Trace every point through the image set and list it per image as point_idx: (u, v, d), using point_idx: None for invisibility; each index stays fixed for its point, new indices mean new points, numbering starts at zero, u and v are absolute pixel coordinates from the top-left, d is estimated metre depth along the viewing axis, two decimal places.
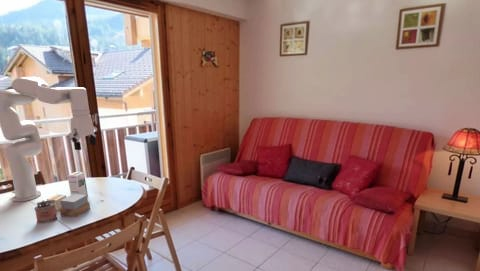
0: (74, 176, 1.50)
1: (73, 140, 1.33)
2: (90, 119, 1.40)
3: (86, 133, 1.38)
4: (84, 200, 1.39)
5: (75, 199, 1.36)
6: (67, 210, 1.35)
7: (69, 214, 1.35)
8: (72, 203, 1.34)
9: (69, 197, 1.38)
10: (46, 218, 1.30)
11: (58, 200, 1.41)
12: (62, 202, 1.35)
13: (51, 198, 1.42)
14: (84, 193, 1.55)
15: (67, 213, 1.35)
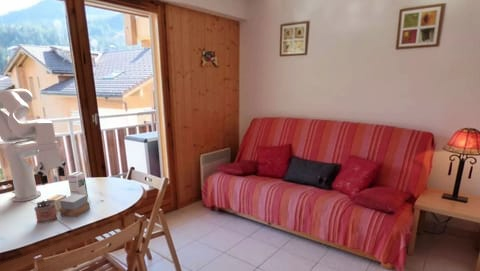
0: (74, 176, 1.50)
1: (39, 174, 1.33)
2: (58, 151, 1.41)
3: (53, 166, 1.38)
4: (84, 200, 1.39)
5: (75, 199, 1.36)
6: (67, 210, 1.35)
7: (69, 214, 1.35)
8: (72, 203, 1.34)
9: (69, 197, 1.38)
10: (46, 218, 1.30)
11: (58, 200, 1.41)
12: (62, 202, 1.35)
13: (51, 198, 1.42)
14: (84, 193, 1.55)
15: (67, 213, 1.35)
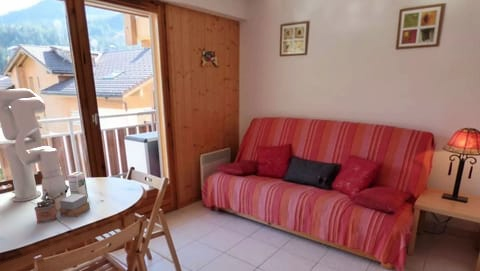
0: (74, 176, 1.50)
1: None
2: (62, 177, 1.44)
3: (57, 192, 1.42)
4: (83, 200, 1.39)
5: (74, 199, 1.36)
6: (67, 210, 1.35)
7: (69, 214, 1.35)
8: (71, 203, 1.34)
9: (68, 197, 1.39)
10: (46, 218, 1.30)
11: (58, 199, 1.41)
12: (61, 202, 1.35)
13: None
14: (84, 193, 1.55)
15: (67, 213, 1.35)
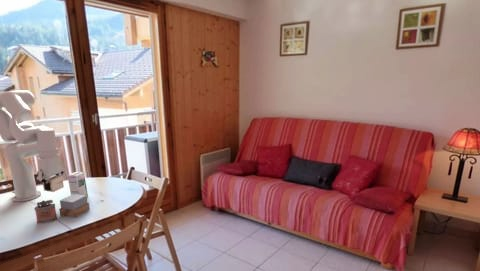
0: (74, 176, 1.50)
1: (42, 181, 1.36)
2: (58, 158, 1.42)
3: (53, 173, 1.40)
4: (83, 200, 1.39)
5: (74, 199, 1.36)
6: (66, 210, 1.34)
7: (69, 214, 1.35)
8: (71, 203, 1.33)
9: (69, 197, 1.38)
10: (46, 218, 1.30)
11: (54, 180, 1.39)
12: (61, 202, 1.35)
13: None
14: (84, 193, 1.55)
15: (66, 213, 1.35)
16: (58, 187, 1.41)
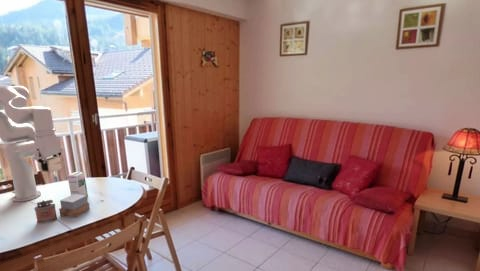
0: (74, 176, 1.50)
1: (40, 161, 1.34)
2: (55, 138, 1.39)
3: (51, 153, 1.37)
4: (84, 200, 1.39)
5: (74, 199, 1.36)
6: (66, 210, 1.34)
7: (69, 214, 1.35)
8: (71, 203, 1.33)
9: (69, 197, 1.38)
10: (46, 218, 1.30)
11: (51, 160, 1.37)
12: (62, 202, 1.35)
13: None
14: (84, 193, 1.55)
15: (66, 213, 1.35)
16: (55, 167, 1.39)
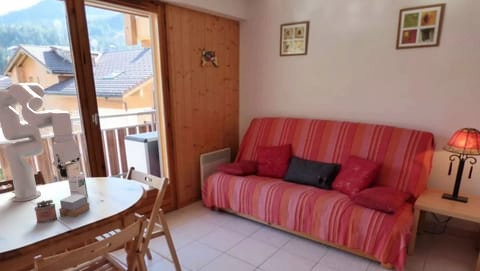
0: None
1: (58, 167, 1.29)
2: (74, 143, 1.34)
3: (69, 158, 1.32)
4: (83, 200, 1.39)
5: (74, 200, 1.36)
6: (66, 210, 1.34)
7: (69, 214, 1.34)
8: (71, 204, 1.33)
9: (69, 197, 1.38)
10: (46, 218, 1.30)
11: (70, 166, 1.32)
12: (62, 202, 1.35)
13: None
14: (84, 193, 1.55)
15: (66, 214, 1.35)
16: (74, 173, 1.34)
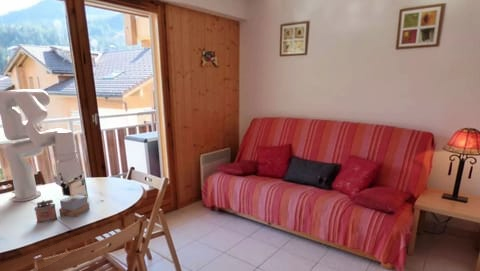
0: None
1: (62, 186, 1.31)
2: (77, 161, 1.36)
3: (72, 176, 1.34)
4: (83, 201, 1.38)
5: (74, 200, 1.35)
6: (66, 211, 1.34)
7: (69, 215, 1.35)
8: (70, 204, 1.33)
9: (69, 197, 1.38)
10: (46, 218, 1.30)
11: (73, 184, 1.34)
12: (61, 203, 1.35)
13: None
14: (84, 193, 1.55)
15: (66, 214, 1.35)
16: (77, 191, 1.36)
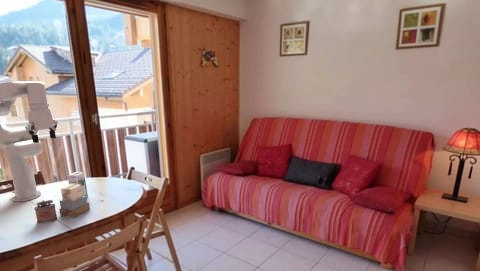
0: (74, 176, 1.50)
1: (30, 133, 1.36)
2: (49, 113, 1.43)
3: (44, 126, 1.41)
4: (83, 201, 1.38)
5: None
6: (67, 210, 1.34)
7: (69, 214, 1.34)
8: (70, 204, 1.33)
9: None
10: (46, 218, 1.30)
11: (73, 189, 1.34)
12: (61, 203, 1.35)
13: (66, 187, 1.35)
14: (84, 193, 1.55)
15: (67, 214, 1.35)
16: (77, 195, 1.37)
